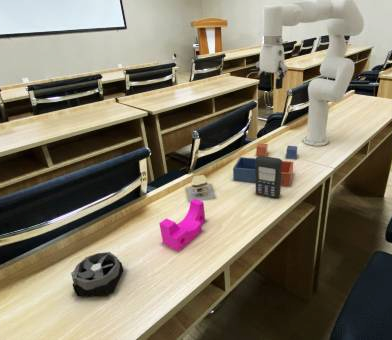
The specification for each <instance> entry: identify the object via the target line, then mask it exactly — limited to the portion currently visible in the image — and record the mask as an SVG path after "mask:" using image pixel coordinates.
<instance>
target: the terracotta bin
mask: <svg viewBox="0 0 392 340" xmlns="http://www.w3.org/2000/svg"><path fill="white" fill-rule="evenodd" d="M293 174H294V161H290V160H289V161H288V160H282V175H281V187H291V182H292V180H293V179H292V178H293Z"/></svg>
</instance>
